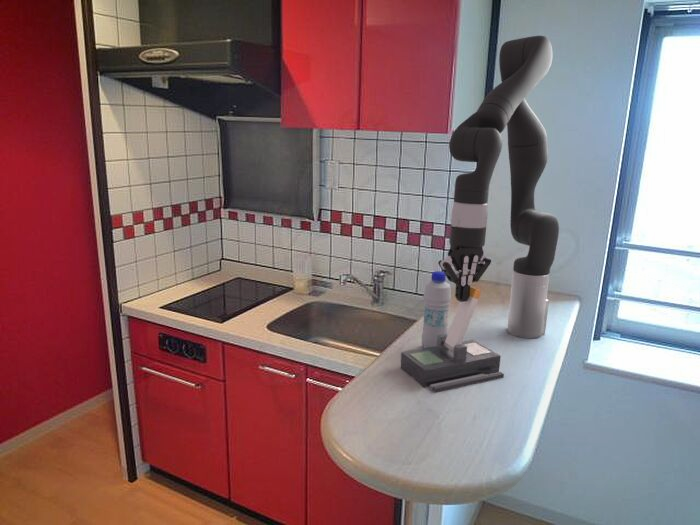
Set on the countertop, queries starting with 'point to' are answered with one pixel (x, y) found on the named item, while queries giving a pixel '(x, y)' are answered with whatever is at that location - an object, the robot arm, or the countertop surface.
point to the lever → (462, 320)
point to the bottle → (435, 309)
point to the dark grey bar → (465, 381)
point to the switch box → (449, 362)
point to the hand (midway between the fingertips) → (461, 300)
